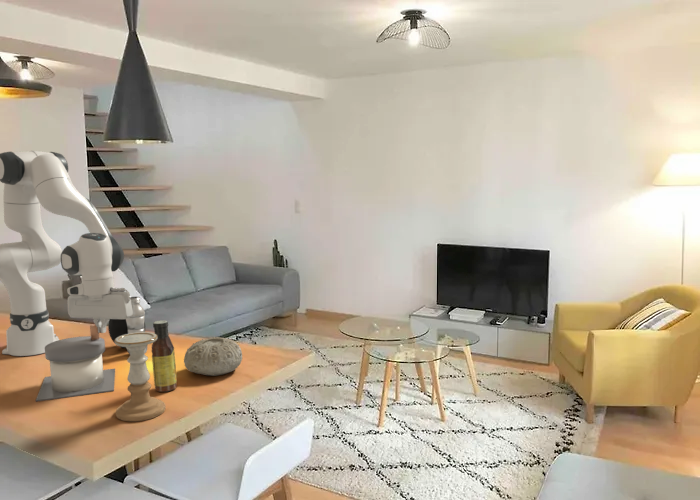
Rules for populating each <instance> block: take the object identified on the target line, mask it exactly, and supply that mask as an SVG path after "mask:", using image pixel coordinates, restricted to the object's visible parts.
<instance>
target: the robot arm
mask: <svg viewBox="0 0 700 500" xmlns="http://www.w3.org/2000/svg"><path fill="white" fill-rule="evenodd" d="M68 164H69V163H68V161H67V159H66V157H65V155H63V154H61V153H60V152H56V151H49V152H48V151H41V150H29V151H28V150H26V151H14V152H13V151H6V152H5V151H4V152H1V153H0V183H2V184H3V219H4V220H3V221H4V224H5V226H6V227H7V228H8V229H10V230H12V231H14V232H15V233H19V234H20V237H21V241H15V242H7V243H0V282H1V283H2V285H4V287H5V289H6V291H7V295H8V300H9V306H10V307H9V308H10V313H9V324H11V325H10V326H9V327H7V329H6V332H5V333H6V335H5V337H6V348H4V349H2V351H1V353H2V355H9V356H10V355H11V356H13V357H24V356H25V357H26V356H28V357H29V356H35V355H40V354H45V346H46V345H48V344H50V343H52V342H55V341H58V340H60V339H59V336H57V334H56V333H55V331H54V330H55V329H54V325H53V324H52V323H51V322H50V320H49V319H50V318H49V317H50V316H49V315H50V314H49V310H48V309H47V301H46V291H45V289H44V287H43V286H42V285H41V284H39V283H37V282H33V281H31V280H30V278H29V277H28V274H29V273H33V272H39V271H46V270H49V269H52V268H55V267H58V266H59V265H60V264H61V268H62V270H64V272H66V273H67V274H68V275H70V276H81V282H80V283H77V284H76V285H73V286H70V287H68V288H67V291H66V292H67V294H68V295H69V296H68V297H67V301H66V303H67V304H66V305H67V313H68V316H69V317H70V318H71V319H93V323H94V325H96V326H97V327H98V333H99V334H104V333H106V332H107V325H109V320H110V319H128V318H130V317H131V316H132V314H133V310H132V304H131V300H130V297H131V293H130V292H129V290H128V289H126V288H124V287H115V280H114V279H115V278H114V273H113V272H116V271H117V270H118V269H120V267H121V266H122V265H123V262H124V260H125V252H124V250H123V247H122V245H120V243H119V242H118V241H117V239H115V237H114V236H113V235H112V233H111V231H110V230H109V228H108V226H107V224H106V223H105V221H104V220H103V218H102V216H101V215H100V212H99V211H98V210H97V208H96V206H95V205H94V204H93V203H92V201H91V200H90V199H88V198H86V197H85V196H84V195H82V193H80V191H78V189H77V188H76V187H75V185H74V184H73V181H72V179H71V176H70V175H69V174H70V173H69V165H68ZM41 207H42V208H43V209H44V210H46V211H48V212H49V213H51V214H54V215H57V216H62V217H67V218H71V219H74V220H77V221H79V222H81V223H82V224H83V225H84V226H85V227H86V229H87V230H88V233H84V234H81V235H80V236H79V238H78V240H77V241H76V242H74V243H72V244H69V245H66V246H65V247H64V248H63V249H62V246H61V245H60V244H59V243H58V242H57V241H55V240H54V239H53V238H51V237H50V235H48V233H47V232H46V230H45V228H44V226H43V221H42V212H41V211H42V210H41Z"/></svg>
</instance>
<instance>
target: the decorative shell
mask: <svg viewBox="0 0 700 500" xmlns="http://www.w3.org/2000/svg"><path fill="white" fill-rule="evenodd" d="M242 361H243V353H242V349H241V346H240V344H239V343H237V342H235V340H234V339H229V338H224V337H220V336H219V337H218V336H217V337H215V336H213V337H211V338H206V339H201V340H198V341H196V342H194V343H192V345H191V346H189V347H188V348H187V350H186V351H185V353H184V359H183V363H184V366H185V368H186V370H187V371H189V372H190V373H194V374H198V375H200V374H201V375H204V376H212V377H213V376H215V377H217V376H222V375H225V374H228V373H231V372H233V371H236V370H237V368H238V367H239V366H240V365H241V363H242Z"/></svg>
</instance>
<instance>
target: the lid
mask: <svg viewBox="0 0 700 500" xmlns="http://www.w3.org/2000/svg"><path fill="white" fill-rule="evenodd" d="M89 330H90V331H89V332H90V336H89V335H88V336H75V337H74V336H73V337H68V338H64V339H59V340H58V341H55V342H52V343H50V344H48V345H46V346H45V353H44V354H45V355H44V357H45V359H46V360H48V362H50V361H54V362H70V361H78V360H84V359H88V358H92V357H95V356H98V355H100V354H102V355H103V353H105V351H106V344H105V343H106V341H105V339H104V338H103V337H100V333H98V327H97V326H96V325H95V324H91V325H89Z"/></svg>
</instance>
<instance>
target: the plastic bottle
mask: <svg viewBox="0 0 700 500" xmlns="http://www.w3.org/2000/svg"><path fill="white" fill-rule="evenodd" d="M130 300H131V304H132V310H133V314H132V316H131V317H130V318H128V319H126V323H127V328H128V334H129V333H137V332H146V330H145V331H144V321H145V317H146V311H145V309H144V307H143V306H142V305H141V304H140V303H141V299H140V296H130ZM126 350H127V353H128V354H129V355H130V351H129V350H128V349H127V348H126ZM147 351H148V345H147V347H146V348H145V350H144V354H145V355H146V353H147Z"/></svg>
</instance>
